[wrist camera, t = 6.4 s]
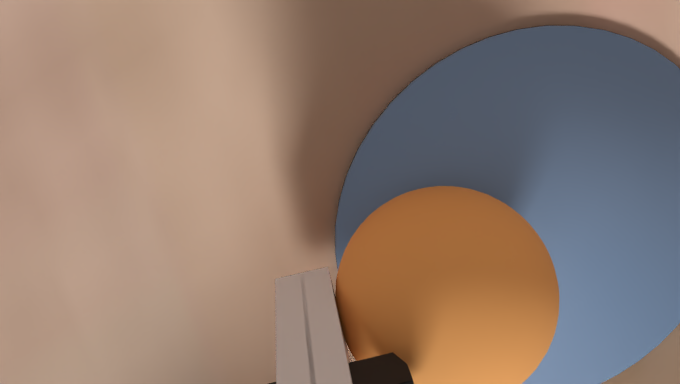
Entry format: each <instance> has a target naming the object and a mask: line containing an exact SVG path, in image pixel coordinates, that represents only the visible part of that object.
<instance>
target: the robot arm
mask: <svg viewBox="0 0 680 384" xmlns="http://www.w3.org/2000/svg"><path fill="white" fill-rule="evenodd" d="M275 302H276V382H273V383H269V384H414V382H413V379H412V376H411V373H410V370H409V368H408V365H407V363H405V362H404V361H403V360H402V359H401V358H399V357H398V356H397V355H396V354H394V353H393V352H392V353H388V354H383V355H379V356H375V357H371V358H367V359H363V360H358V361H354V362H350V359H349V354H348V350H347V345H346V341H345V339H344V335H343V331H342V327H341V323H340V318H339V314H338V309H337V305H336V300H335V294H334V290H333V285H332V281H331V277H330V273H329V268H328V267H324V268H320V269H316V270H311V271H307V272H303V273H298V274H294V275H290V276H286V277H281V278H277V279H275Z"/></svg>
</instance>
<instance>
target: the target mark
mask: <svg viewBox="0 0 680 384" xmlns="http://www.w3.org/2000/svg"><path fill="white" fill-rule="evenodd" d="M434 186H455V187H462V188H468V189H472V190H476V191H479V192H482V193H485V194H488V195H490V196H492V197H494V198H496V199H498V200H500V201H501V202H503V203H505V204H507V205H508V206H509V207H511V208H512V209H513V210H515V211H516V212H517V213H519V214H520V215H521V216H522V217H523V218H524V219H525V220H526V221H527V222H528V223H529V224H530V225H531V226H532V228H533V229H534V230H535V231H536V233H537V234H538V235H539V237H540V238H541V240H542V241H543V243H544V245H545V246H546V248H547V250H548V252H549V254H550V257H551V259H552V262H553V265H554V268H555V272H556V276H557V280H558V286H559V316H558V322H557V326H556V330H555V334H554V337H553V340H552V342H551V344H550V347H549V349H548V351H547V353H546V355H545V356H544V358H543V359H542V361H541V362H540V364H539V365H538V367H537V369H536V370H535V371H534V372H533V373H532V374H531V375H530V376H529V377H528V379H526V380H525V381H524V382H523V383H522V384H600V383H602V382H604V381H606V380H608V379H610V378H612V377H614V376H616V375H618V374H619V373H621V372H622V371H624V370H625V369H627V368H628V367H630V366H632V365H633V364H635V363H636V362H638V361H639V360H640V359H642V358H643V357H644V356H645V355H647V354H648V353H649V352H650V351H651V350H653V349H654V348H655V347H656V346H658V345H659V344H660V343H661V342H662V341H663V340H664V339H665V338H666V337H667V336H668V335H669V334H670V333H671V332H672V331H673V330H674V329H675V328H676V327H677V325H678V324H679V323H680V69H679V68H678V67H677V66H676V65H675V64H674V63H673V62H671V61H670V60H668V59H667V58H665V57H664V56H662V55H661V54H660V53H658V52H657V51H655V50H654V49H652V48H650V47H648V46H646V45H644V44H641V43H639V42H637V41H635V40H633V39H631V38H628V37H625V36H622V35H619V34H615V33H612V32H609V31H605V30H600V29H593V28H586V27H579V26H539V27H531V28H524V29H517V30H513V31H509V32H506V33H502V34H499V35H495V36H491V37H488V38H486V39H483V40H481V41H478V42H476V43H474V44H471V45H469V46H467V47H464V48H462V49H460V50H458V51H456V52H455V53H453V54H451V55H450V56H448V57H446V58H444V59H443V60H441V61H439V62H437V63H436V64H434V65H433V66H432V67H430V68H429V69H428V70H426V71H425V72H424V73H422V74H421V75H420V76H419V77H417V78H416V79H415V80H413V81H412V82H411V83H410V84H409V85H408V86H407V87H406V88H405V89H404V90H403V91H402V92H401V93H400V94H399V95H398V96H397V97H396V98H395V99H394V100H392V101H391V102H390V104H389V105H388V106H387V107H386V109H385V110H384V111H383V113H382V114H381V115H380V116H379V118H378V119H377V120H376V121H375V123H374V124H373V125H372V127H371V128H370V130H369V132H368V133H367V135H366V137H365V138H364V140H363V142H362V143H361V145H360V147H359V148H358V150H357V152H356V155H355V157H354V159H353V161H352V164H351V166H350V168H349V171H348V173H347V175H346V179H345V182H344V186H343V189H342V192H341V196H340V199H339V205H338V212H337V219H336V225H335V253H336V261H337V268H338V269H339V265H340V262H341V259H342V256H343V253H344V251H345V249H346V247H347V245H348V243H349V241H350V239H351V237H352V236H353V234H354V233H355V232H356V230H357V229H358V227H359V226H360V225H361V224H362V223H363V222H364V220H365V219H366V218H367V217H368V216H369V215H370V214H371V213H373V212H374V211H375V210H376V209H378V208H379V207H380V206H382V205H383V204H385V203H387V202H388V201H390V200H391V199H393V198H395V197H397V196H399V195H402V194H404V193H406V192H409V191H413V190H417V189H421V188H425V187H434Z"/></svg>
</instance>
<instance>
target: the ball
mask: <svg viewBox="0 0 680 384" xmlns="http://www.w3.org/2000/svg"><path fill="white" fill-rule="evenodd" d="M335 300H336V305H337V309H338V314H339V318H340V323H341V327H342V331H343V335H344V339H345V341H346V343H347V345H348V347H349V349H350V351H351V353H352V355H353V356H354V358H355V359H356V360H357V361H358V360H363V359H367V358H371V357H375V356H379V355H383V354H388V353H392V352H393V353H394V354H396V355H397V356H398V357H399V358H401V359H402V360H403V361H404V362H405V363H407V365H408V368H409V370H410V373H411V376H412V379H413V382H414V384H522V383H523V382H524V381H525V380H526V379H528V377H529V376H530V375H531V374H532V373H533V372H534V371H535V370H536V369H537V367H538V365H539V364H540V362H541V361H542V359H543V358H544V356H545V355H546V353H547V351H548V349H549V347H550V344H551V342H552V340H553V337H554V334H555V330H556V326H557V322H558V316H559V286H558V280H557V276H556V272H555V268H554V265H553V262H552V259H551V257H550V254H549V252H548V250H547V248H546V246H545V245H544V243H543V241H542V240H541V238H540V237H539V235H538V234H537V233H536V231H535V230H534V229H533V228H532V226H531V225H530V224H529V223H528V222H527V221H526V220H525V219H524V218H523V217H522V216H521V215H520V214H519V213H517V212H516V211H515V210H513V209H512V208H511V207H509V206H508V205H507V204H505V203H503V202H501V201H500V200H498V199H496V198H494V197H492V196H490V195H488V194H485V193H482V192H479V191H476V190H472V189H468V188H462V187H455V186H434V187H425V188H421V189H417V190H413V191H409V192H406V193H404V194H402V195H399V196H397V197H395V198H393V199H391V200H390V201H388V202H387V203H385V204H383V205H382V206H380V207H379V208H378V209H376V210H375V211H374V212H373V213H371V214H370V215H369V216H368V217H367V218H366V219H365V220H364V222H363V223H362V224H361V225H360V226H359V227H358V229H357V230H356V232H355V233H354V234H353V236H352V237H351V239H350V241H349V243H348V245H347V247H346V249H345V251H344V253H343V256H342V259H341V262H340V265H339V269H338V274H337V279H336V294H335Z"/></svg>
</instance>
